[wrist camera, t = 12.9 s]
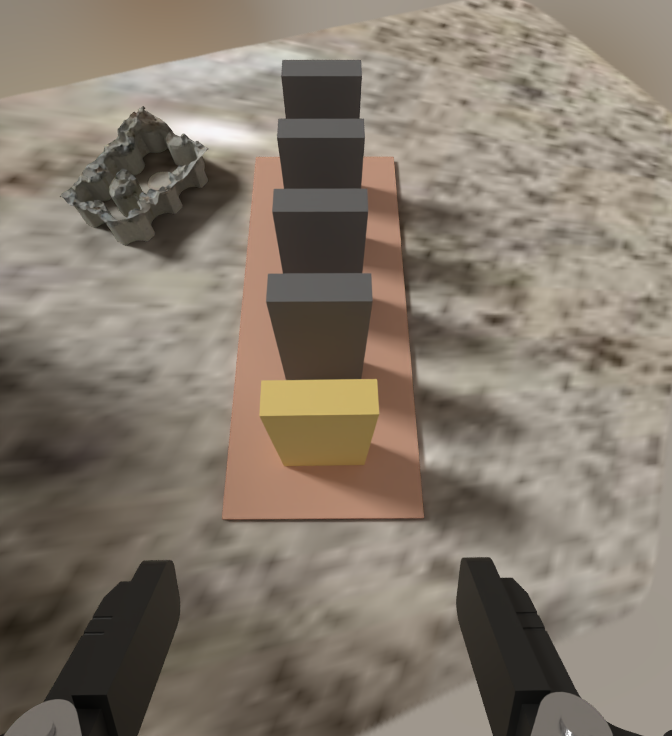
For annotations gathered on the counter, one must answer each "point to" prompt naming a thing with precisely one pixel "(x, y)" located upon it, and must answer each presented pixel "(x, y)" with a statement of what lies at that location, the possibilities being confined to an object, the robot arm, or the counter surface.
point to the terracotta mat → (382, 362)
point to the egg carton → (117, 179)
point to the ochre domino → (320, 420)
